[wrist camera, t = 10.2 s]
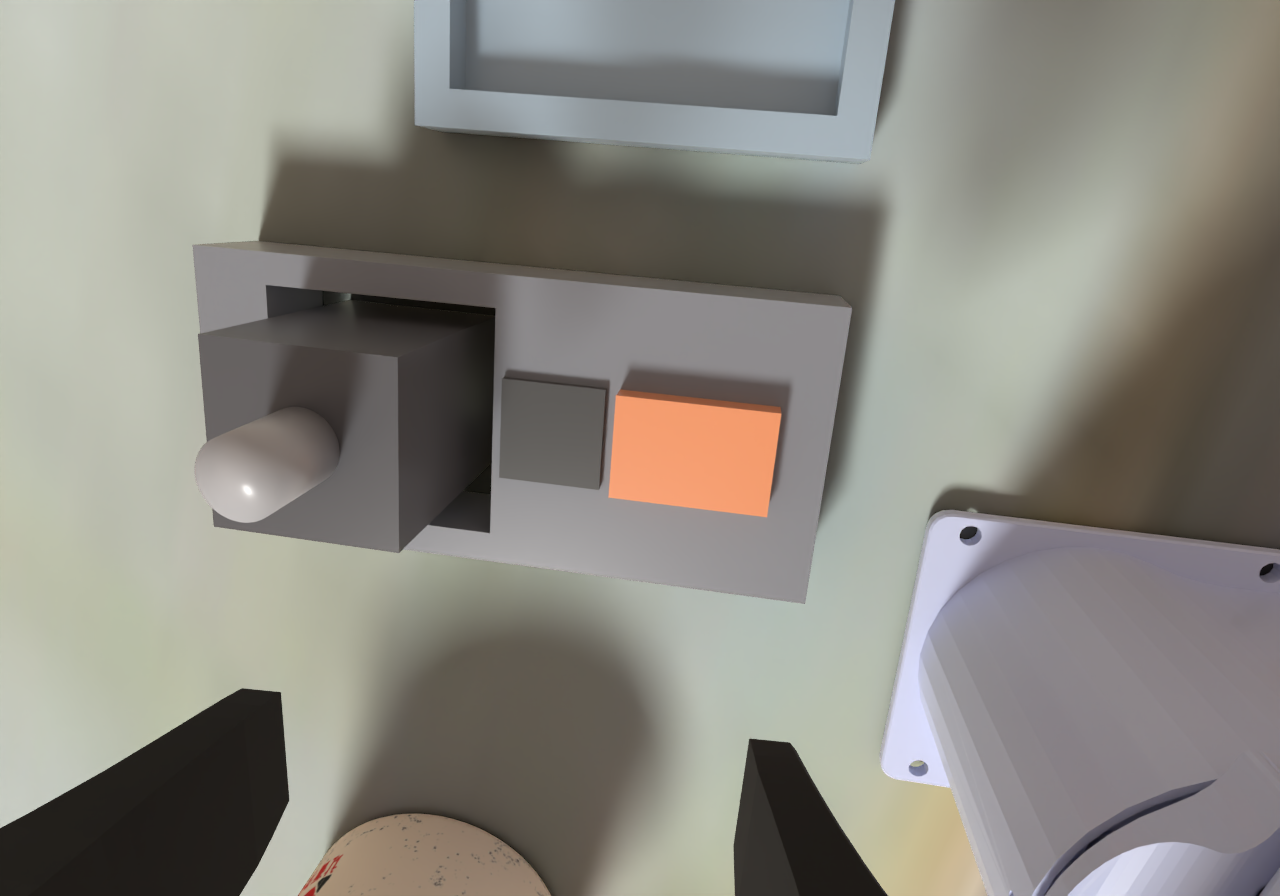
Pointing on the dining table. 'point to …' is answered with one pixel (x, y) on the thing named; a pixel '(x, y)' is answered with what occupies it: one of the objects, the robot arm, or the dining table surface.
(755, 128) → the tray
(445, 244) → the dining table surface
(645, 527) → the power strip
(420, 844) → the teacup with lid
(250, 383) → the plug
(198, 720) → the robot arm
